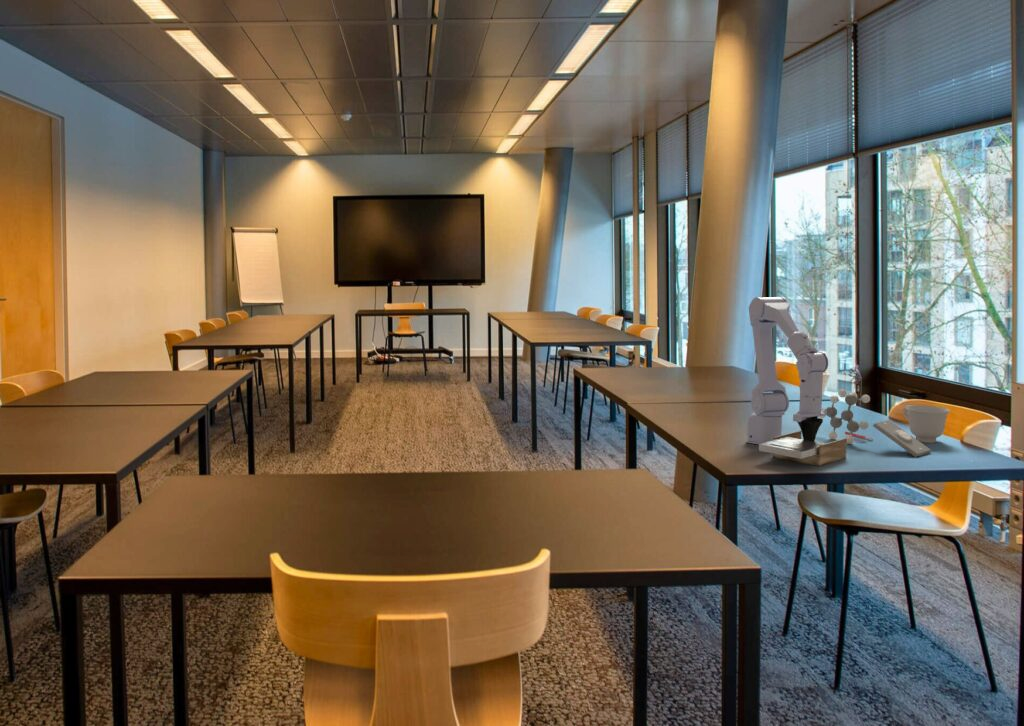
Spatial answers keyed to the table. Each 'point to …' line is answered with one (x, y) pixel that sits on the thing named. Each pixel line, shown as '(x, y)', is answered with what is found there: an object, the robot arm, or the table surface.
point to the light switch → (902, 438)
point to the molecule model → (846, 415)
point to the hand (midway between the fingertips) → (808, 444)
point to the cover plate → (791, 447)
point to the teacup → (926, 421)
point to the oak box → (826, 451)
